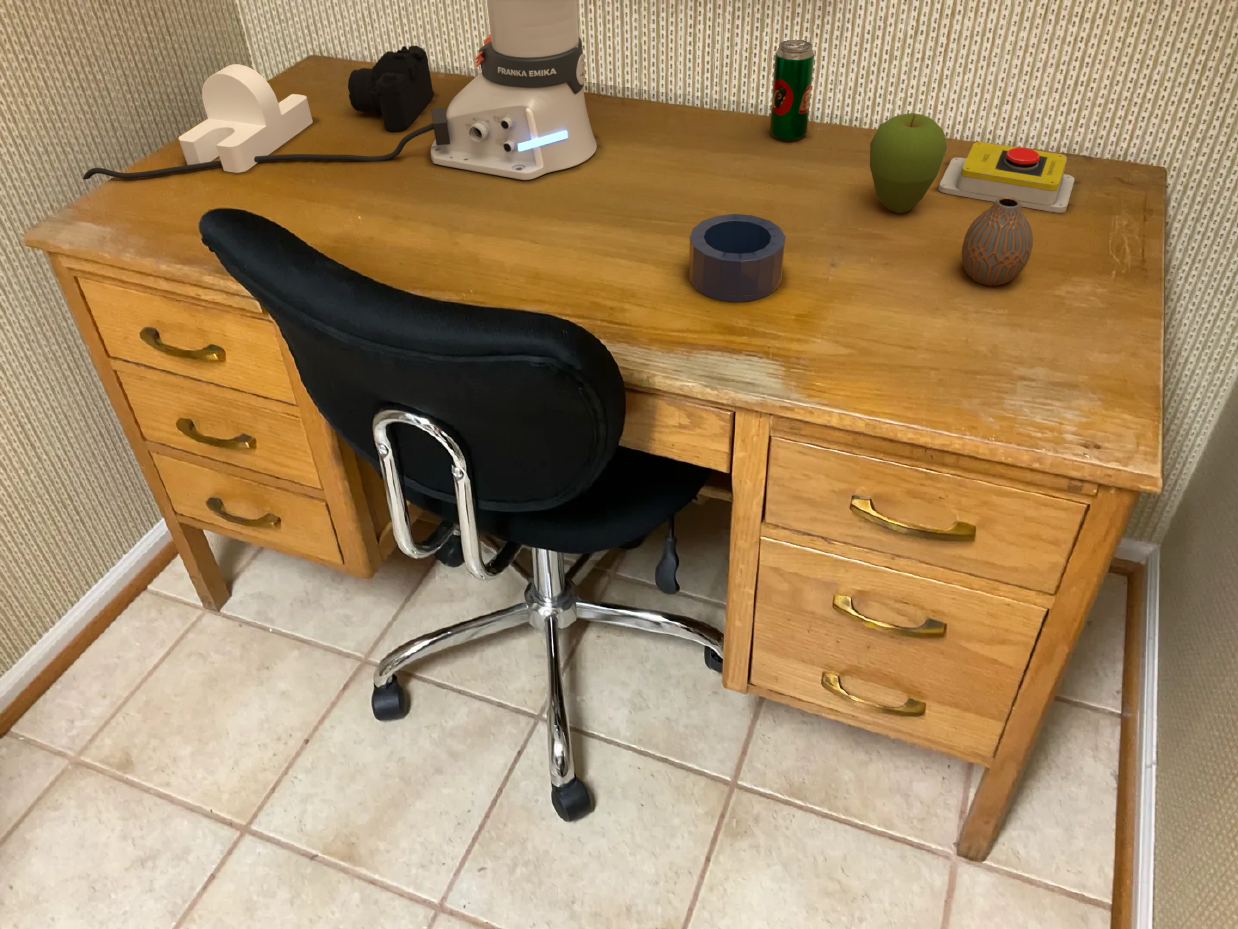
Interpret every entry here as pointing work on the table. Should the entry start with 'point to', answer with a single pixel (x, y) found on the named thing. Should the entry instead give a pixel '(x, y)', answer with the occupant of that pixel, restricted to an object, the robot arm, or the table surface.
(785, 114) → the soda can
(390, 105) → the film camera
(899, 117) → the apple
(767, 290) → the socket
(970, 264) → the vase
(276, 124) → the white slotted bracket
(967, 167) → the emergency button
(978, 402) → the table surface
